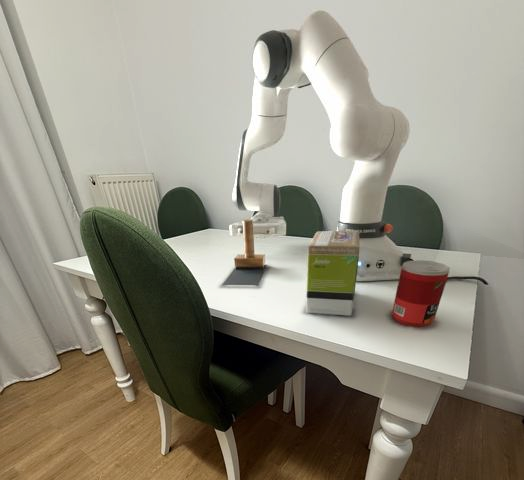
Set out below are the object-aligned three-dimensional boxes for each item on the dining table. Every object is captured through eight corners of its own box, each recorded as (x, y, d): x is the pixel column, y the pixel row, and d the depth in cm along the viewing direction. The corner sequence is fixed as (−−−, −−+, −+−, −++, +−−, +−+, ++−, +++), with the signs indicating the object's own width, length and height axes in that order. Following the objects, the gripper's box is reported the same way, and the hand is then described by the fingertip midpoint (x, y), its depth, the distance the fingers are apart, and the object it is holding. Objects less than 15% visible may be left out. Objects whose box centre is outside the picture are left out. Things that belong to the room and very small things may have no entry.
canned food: (431, 331, 55) (448, 274, 49) (387, 322, 59) (398, 268, 53) (435, 315, 61) (451, 262, 55) (394, 308, 64) (406, 258, 58)
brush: (265, 265, 94) (263, 218, 87) (263, 269, 90) (261, 221, 83) (238, 265, 96) (234, 219, 88) (235, 269, 92) (230, 221, 84)
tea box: (313, 289, 76) (316, 229, 68) (353, 292, 73) (361, 229, 66) (304, 313, 64) (307, 243, 56) (351, 317, 61) (362, 244, 53)
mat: (267, 266, 96) (267, 264, 95) (257, 287, 79) (257, 285, 79) (237, 266, 97) (237, 264, 97) (222, 286, 80) (222, 284, 80)
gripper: (233, 217, 109) (224, 223, 98) (287, 216, 106) (284, 222, 95) (235, 235, 112) (226, 243, 101) (287, 234, 109) (284, 242, 98)
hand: (254, 233), depth 98 cm, fingers open, 8 cm apart
